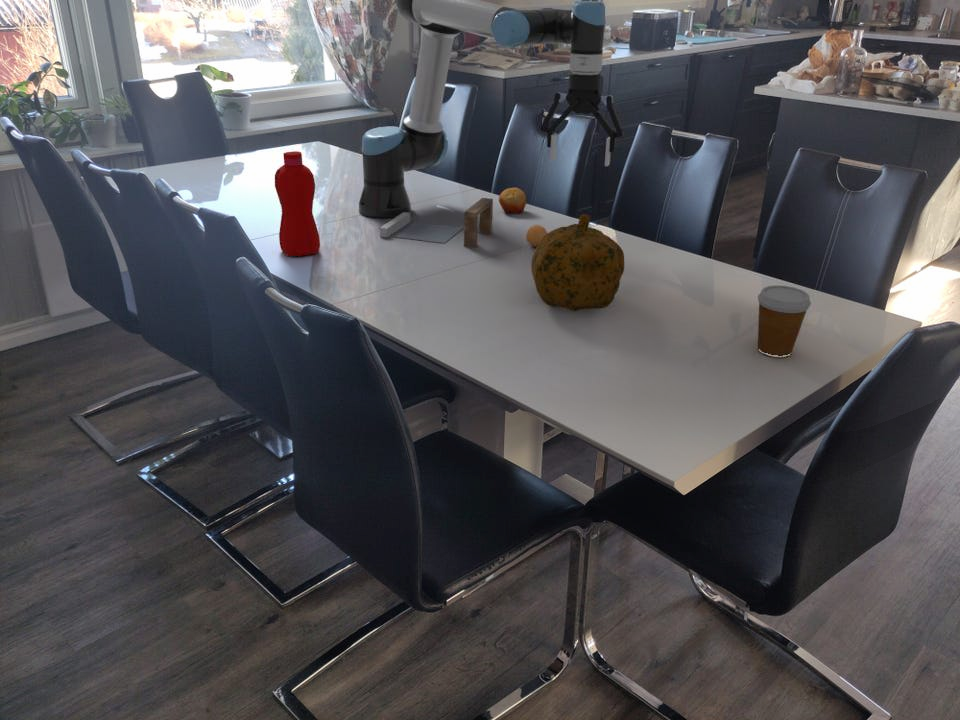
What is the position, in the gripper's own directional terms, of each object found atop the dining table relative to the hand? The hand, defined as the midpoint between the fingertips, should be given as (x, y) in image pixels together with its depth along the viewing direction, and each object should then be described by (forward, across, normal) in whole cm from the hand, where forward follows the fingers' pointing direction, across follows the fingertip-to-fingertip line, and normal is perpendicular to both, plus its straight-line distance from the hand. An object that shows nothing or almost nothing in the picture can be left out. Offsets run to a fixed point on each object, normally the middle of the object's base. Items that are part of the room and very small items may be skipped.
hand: (579, 163), depth 205 cm
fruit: (+22, -25, +28) cm, 44 cm away
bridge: (+22, -26, 0) cm, 34 cm away
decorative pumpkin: (+23, +8, -35) cm, 43 cm away
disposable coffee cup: (+23, +50, -47) cm, 72 cm away
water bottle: (+22, -65, -26) cm, 74 cm away
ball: (+20, -10, 0) cm, 22 cm away
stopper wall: (+22, -50, 0) cm, 55 cm away
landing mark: (+22, -40, 0) cm, 46 cm away
